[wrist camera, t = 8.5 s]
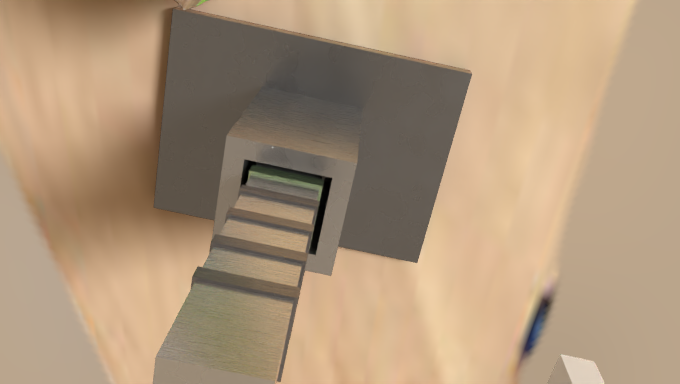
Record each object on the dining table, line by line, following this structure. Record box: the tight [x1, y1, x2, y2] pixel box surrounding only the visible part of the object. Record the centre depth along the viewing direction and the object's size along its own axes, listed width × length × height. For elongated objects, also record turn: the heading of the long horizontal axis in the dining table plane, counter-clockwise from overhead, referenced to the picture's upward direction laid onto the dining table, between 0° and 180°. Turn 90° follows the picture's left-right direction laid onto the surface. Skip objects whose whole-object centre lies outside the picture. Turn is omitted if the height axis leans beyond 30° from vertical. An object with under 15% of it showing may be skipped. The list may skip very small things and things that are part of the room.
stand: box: [154, 7, 472, 276], centre depth 43 cm, size 16×22×13 cm
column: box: [153, 162, 325, 384], centre depth 32 cm, size 4×4×22 cm
